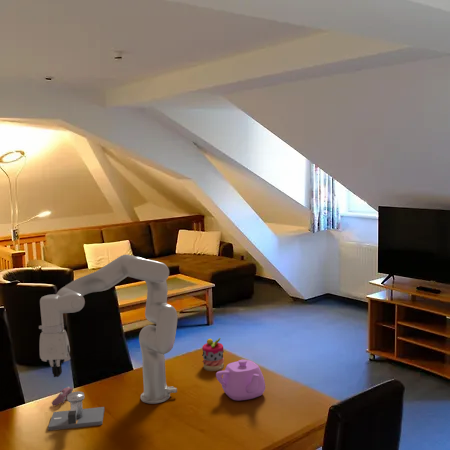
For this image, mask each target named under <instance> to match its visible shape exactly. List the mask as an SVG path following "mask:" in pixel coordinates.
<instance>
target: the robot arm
mask: <svg viewBox="0 0 450 450" xmlns="http://www.w3.org/2000/svg"><path fill="white" fill-rule="evenodd" d="M169 276H170V268H169V267H168V266H167V264H166V263H164V262H160V261H157V260H153V259H146V258H144V257H140V256H135V255H131V254H123V255H120V256H118V257H117V258H115V259H114V260H111V261H110V262H109V263H107V264H106V265H104V266H103V267H101V268H99V269H97V270H96V271H93V272H92V273H89V274H85V275H84V276H81V277H79V278H76V279H73V280H72V281H70V282H69V283H67V284H65V286H63V287H61V288H60V289H59V290H58V291H57V293H56V294H54V293H53V294H47V295H44V296H41V298H40V299H39V307H40V317H41V325H38V329H39V330H41V333H40V335H39V359H41V361H42V362H46V363H48V364H49V366H50V368H51V371H52V373H51V374H53V375H52V376H53V378H58V377H60V376H61V375H62V372H63V371H62V364H64V363H65V362H69V361H70V360H71V356H70V355H71V354H70V353H71V347H70V341H69V340H70V339H69V336H68V333H67V331H66V329H65V326H64V325H65V324H64V314H70V313H77V312H80V311H81V310H82V309H83V308H84V307H85V304H86V301H85V297H84V296H85V295H89V294H91V293H97V292H103V291H107V290H110V289H111V288H113V287H114V286H115V285H117V284H119V283H120V282H121V281H123V280H124V279H126V278H127V277H128V278H133V279H135V280H139V281H140V280H141V281H144V282H145V284H146V287H147V289H146V290H147V291H146V292H147V294H146V302H145V308H144V309H145V310H144V316H145V319H146V320H147V321H149V322H150V323H152V324H149V325H145V326H144V327H142V329H141V330H140V332H139V335H138V342H139V346H140V347H139V348H140V351H141V359H142V364H141V365H142V378H143V379H142V380H143V392H142V393H141V394H140V400H141V402H143V403H145V404H152V405H154V404H160V403H163V402H166V401H168V400H169V399H170V398H171V394H172V393H175V394H176V393H178V388H177V387H174V386H169V385H167V378H166V377H167V376H166V358H165V357H166V356H165V355H166V354H168V353H170V352H171V351H172V349H173V348H174V345H175V342H176V335H177V326H178V317H179V316H178V312H177V310H176V308H175V307H174V306H173V305H171V304H169V303H168V290H169V289H168V283H167V280H168V279H169Z"/></svg>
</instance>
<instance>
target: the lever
mask: <svg viewBox="0 0 450 450" xmlns="http://www.w3.org/2000/svg"><path fill="white" fill-rule="evenodd" d="M84 400H85V393H84V392H83V391H72V393H70V394H68V396H67V400H66V401H67V402H68V403H70V404H69V405H70V411H69V410H68V411H69V413H68V424H76V421H77V418H80V417H82V416H83V409H84V408H83V401H84Z"/></svg>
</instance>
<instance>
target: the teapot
mask: <svg viewBox="0 0 450 450" xmlns="http://www.w3.org/2000/svg"><path fill="white" fill-rule="evenodd" d="M262 372H263V371H262V370H261V368H260V366H259V365H258V364H257V363H255V362H254V361H253V360H249V359H245V358H244V359H238V361H233V362H230V363H228V364H227V365H226V367H225V368H224V370H218V371H217V372H216V373H215V378H216V379H217V381H218V382H219V384H220V385H221V387H222V389H223V391H224V393H225V395H226V396H227V397H229V398H230V399H231V400H233V401H247V400H253V399H256V398H258V397H260V396H263V394H264V392H265V391H266V383H265V382H266V381H265V378H264V375H263V373H262Z"/></svg>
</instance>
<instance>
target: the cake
mask: <svg viewBox="0 0 450 450" xmlns="http://www.w3.org/2000/svg"><path fill="white" fill-rule="evenodd" d="M220 341H221V337H219V338H218V339H216V340H215V341H214V340H213V339H212V338H208V339H207V340H206V343H205V344H203V345H202V358H203V361H201V362H202V363H203V369H204V371H208V372H216V371H217V372H219V371H222V370H223V368H224V362H225V358H224V353H225V352H224V345H223V344H222V343H220Z"/></svg>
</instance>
